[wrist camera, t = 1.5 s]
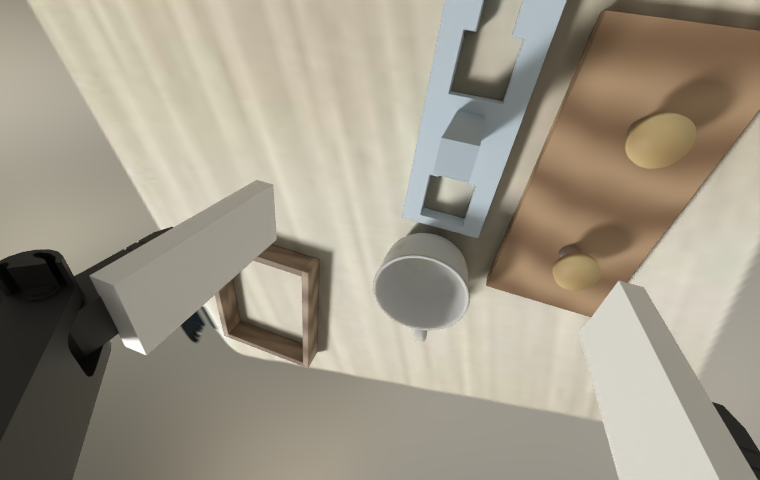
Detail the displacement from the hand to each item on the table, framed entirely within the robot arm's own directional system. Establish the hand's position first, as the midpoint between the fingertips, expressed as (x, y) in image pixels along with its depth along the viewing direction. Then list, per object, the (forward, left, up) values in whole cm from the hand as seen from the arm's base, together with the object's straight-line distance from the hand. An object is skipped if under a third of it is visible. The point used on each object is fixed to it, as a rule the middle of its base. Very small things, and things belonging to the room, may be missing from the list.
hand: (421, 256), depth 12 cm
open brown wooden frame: (+35, -25, -24) cm, 49 cm away
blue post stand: (-1, 0, -24) cm, 24 cm away
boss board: (+4, +14, -24) cm, 28 cm away
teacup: (+19, 0, -24) cm, 31 cm away
